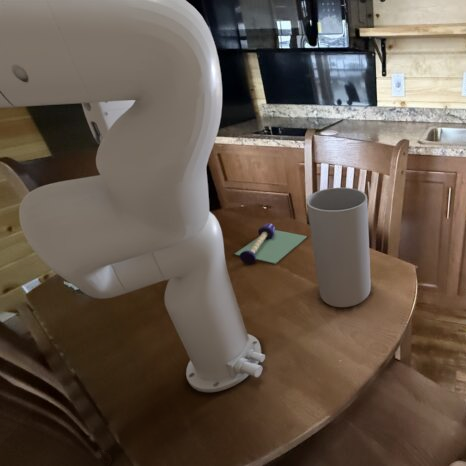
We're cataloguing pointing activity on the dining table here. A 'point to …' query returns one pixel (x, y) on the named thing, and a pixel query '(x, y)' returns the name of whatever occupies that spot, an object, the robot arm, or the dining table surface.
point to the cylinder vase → (340, 245)
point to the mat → (275, 246)
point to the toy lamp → (258, 243)
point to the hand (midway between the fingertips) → (147, 177)
